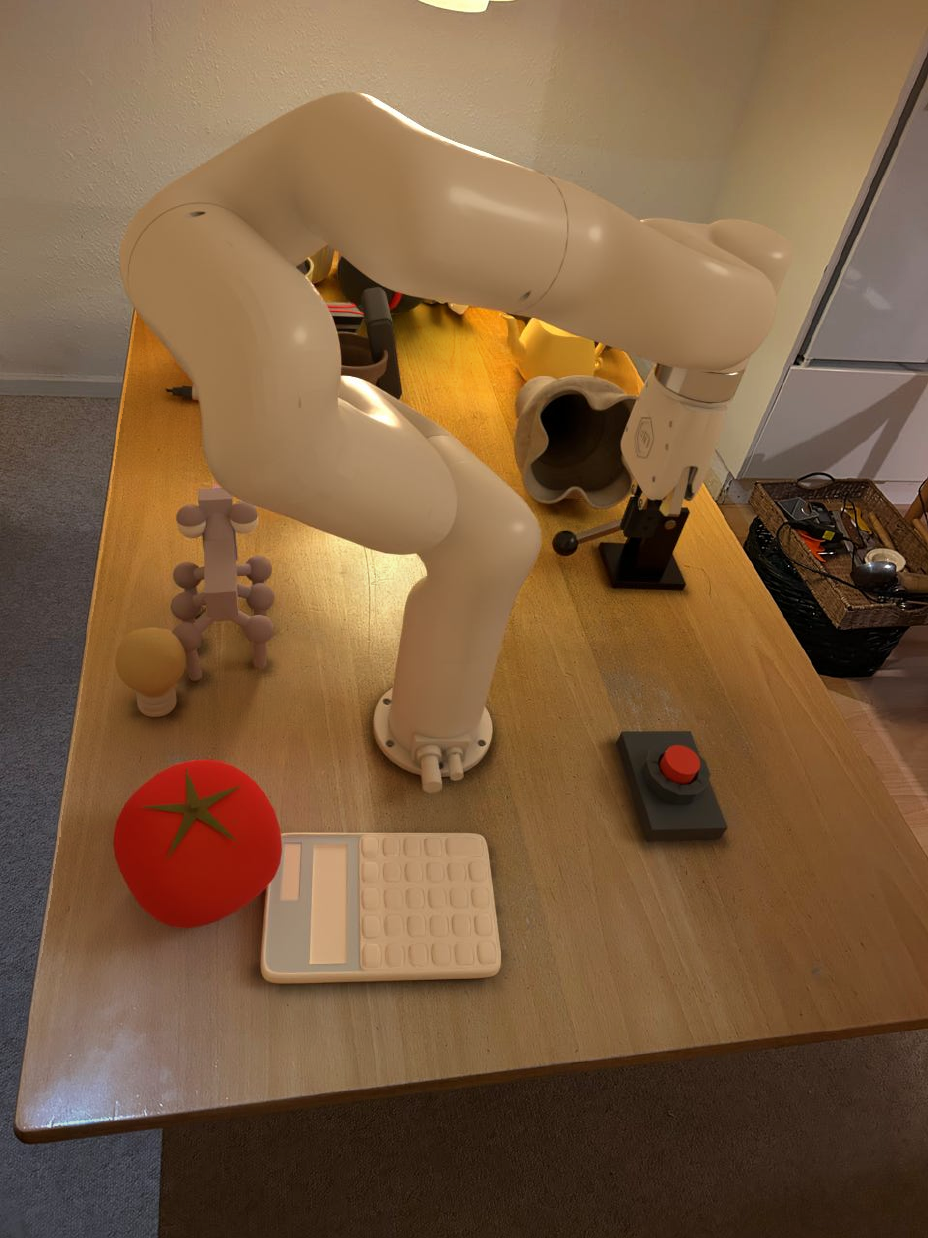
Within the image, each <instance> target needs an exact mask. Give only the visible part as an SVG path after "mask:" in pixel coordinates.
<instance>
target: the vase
mask: <svg viewBox="0 0 928 1238" xmlns="http://www.w3.org/2000/svg"><path fill="white" fill-rule="evenodd" d="M637 398H638V395H634V394H627V393H626V392H625V391H624V390H623V389H622V388H620V387H619V386H618V385H616V384H615V383H613V382H611V381H609V380H606V379H603V378H601V377H597V376H587V375H573V376H567V377H563V378H560V379H557V380H556V379H555V378H553V377H549V376H538V377H535V378H532V379H531V380H529V381H528V382H525V383H524V384H523V386H521V388H520V389H519V390H518V393H517V395H516V398H515V401H514V402H515V403H514V412H515V416H516V419H517V423H516V428H515V432H514V439H513V451H514V458H515V462H516V466H517V468H518V470H519V473H520V475H521V480H522V485H523V487H524V490H525V492H526V493H527V494H528V496H529V497H530V498H532V499H533V500H534V501H536V502H538V503H541V504H545V505H550V504H552V505H553V504H555V503H558V502H560V501H562V500H563V499H567V500H568V499H569V500H570V499H573V500H578V499H582V501H584V502H585V504H587V505H588V506H589V507H591V508H593V509H595V510H606V509H611V508H613V507H616V506H617V505H619V504H621V503H622V502H623V501H624V500H626V499H627V498H628V497H629V496H630V495H631V485H632V481H633V478H634V475H633V473H632V471H631V469H630V467H629V465H628V464H627V462H626V460H625V457H624V455H623V453H622V450H621V440H622V437H623V434H624V431H625V428H626V426H627V423H628V420H629V418H630V415H631V413H632V410H633V408H634V405H635V403H636V401H637Z"/></svg>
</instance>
